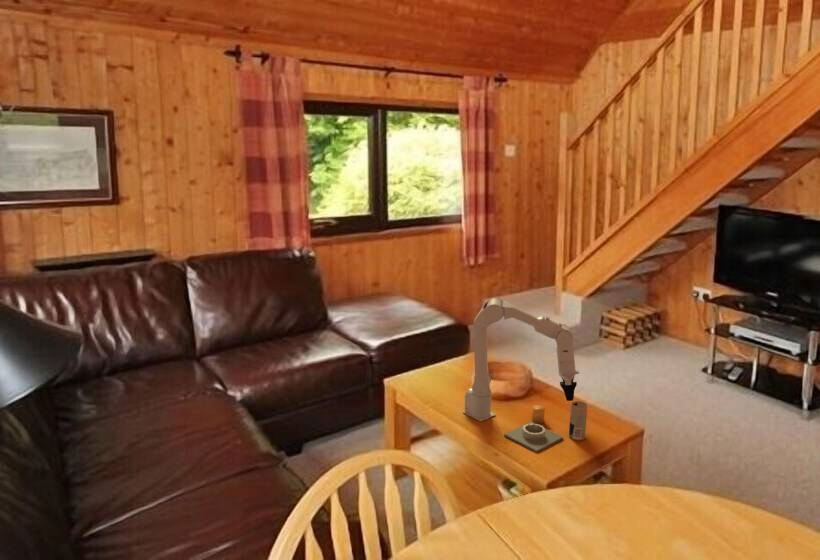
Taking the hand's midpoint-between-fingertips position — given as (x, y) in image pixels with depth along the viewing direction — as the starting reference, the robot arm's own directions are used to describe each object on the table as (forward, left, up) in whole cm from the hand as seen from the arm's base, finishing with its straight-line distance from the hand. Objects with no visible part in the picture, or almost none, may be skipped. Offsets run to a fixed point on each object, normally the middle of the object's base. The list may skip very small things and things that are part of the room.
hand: (569, 395), depth 210 cm
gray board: (-1, -18, -10) cm, 21 cm away
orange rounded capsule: (-8, -7, -11) cm, 15 cm away
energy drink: (+8, -6, -11) cm, 15 cm away
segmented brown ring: (-1, -18, -10) cm, 21 cm away
